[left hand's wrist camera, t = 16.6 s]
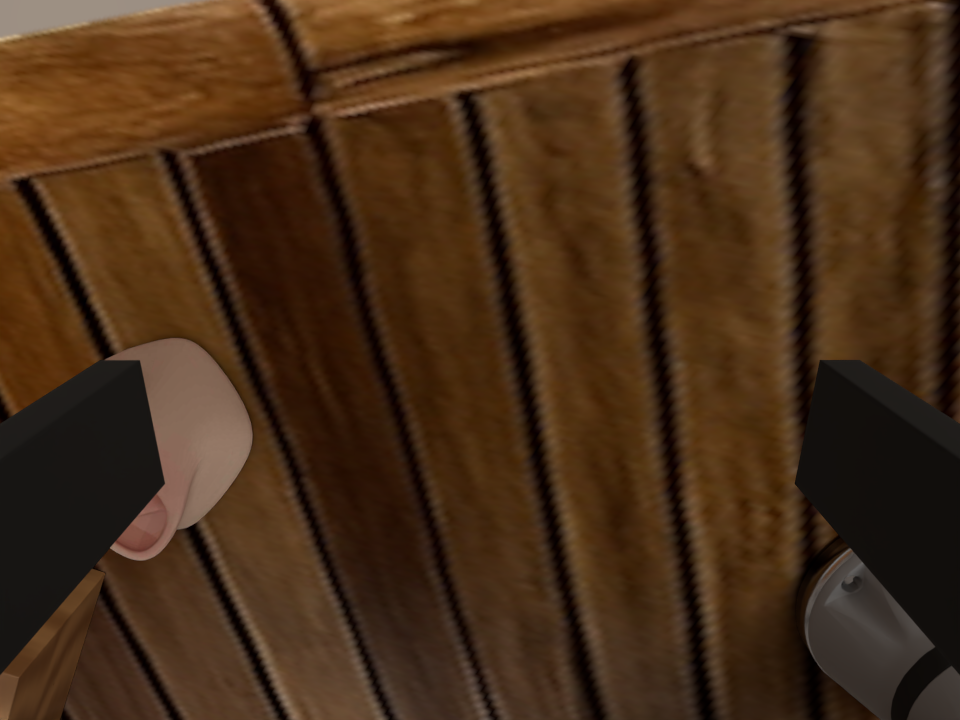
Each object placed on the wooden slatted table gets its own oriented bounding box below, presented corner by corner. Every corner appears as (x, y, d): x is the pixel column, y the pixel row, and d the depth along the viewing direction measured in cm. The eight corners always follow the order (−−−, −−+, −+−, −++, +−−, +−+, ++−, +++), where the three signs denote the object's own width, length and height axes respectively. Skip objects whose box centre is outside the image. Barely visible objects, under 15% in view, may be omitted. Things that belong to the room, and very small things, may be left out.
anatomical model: (120, 325, 34) (280, 462, 37) (155, 305, 38) (298, 431, 41) (-16, 468, 38) (141, 584, 41) (29, 436, 41) (170, 545, 44)
